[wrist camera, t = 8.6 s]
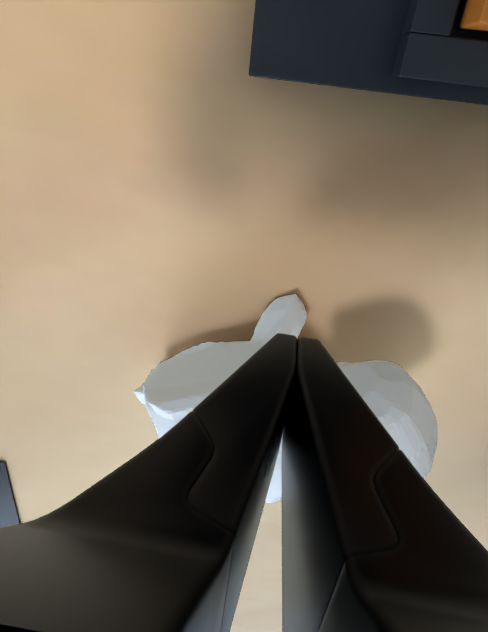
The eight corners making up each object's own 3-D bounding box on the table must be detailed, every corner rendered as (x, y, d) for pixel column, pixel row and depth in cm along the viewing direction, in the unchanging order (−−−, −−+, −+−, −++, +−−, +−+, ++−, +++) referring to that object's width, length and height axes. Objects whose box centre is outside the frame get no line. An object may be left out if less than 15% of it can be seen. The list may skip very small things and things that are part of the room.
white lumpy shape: (240, 410, 31) (473, 415, 22) (171, 516, 25) (446, 586, 16) (180, 311, 28) (423, 266, 18) (85, 407, 22) (367, 414, 13)
